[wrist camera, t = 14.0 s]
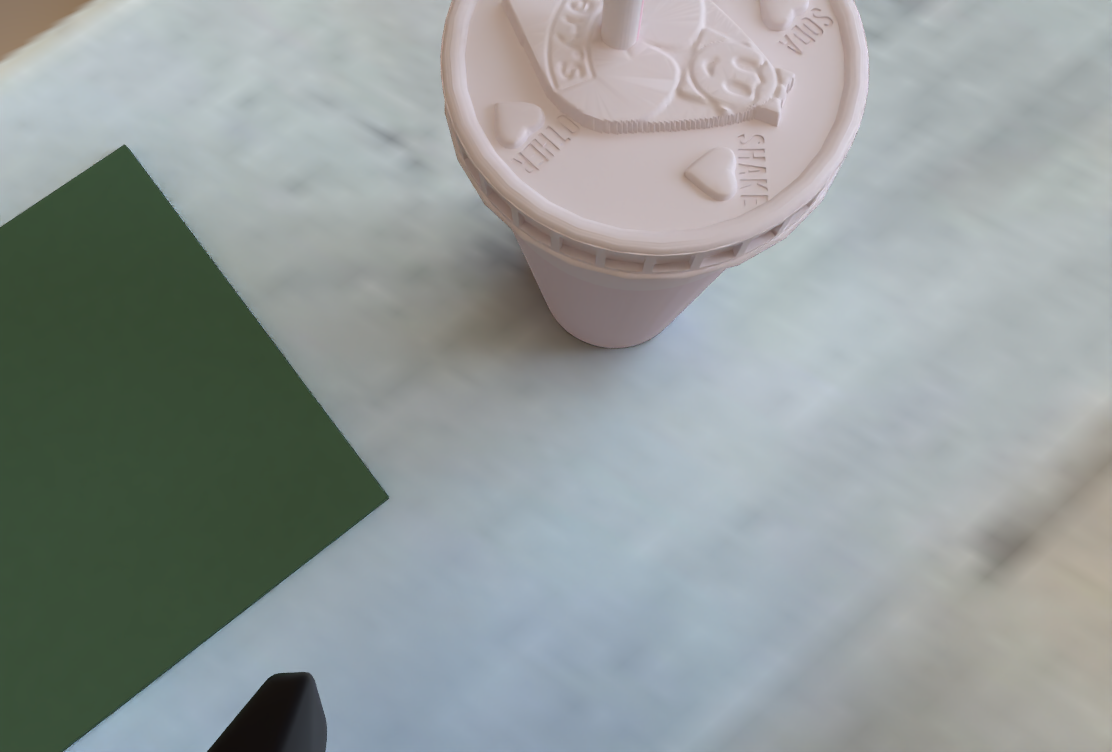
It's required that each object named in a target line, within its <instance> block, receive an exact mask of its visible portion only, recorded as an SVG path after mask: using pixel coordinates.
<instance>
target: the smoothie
mask: <svg viewBox="0 0 1112 752" xmlns="http://www.w3.org/2000/svg"><path fill="white" fill-rule="evenodd" d="M441 79H442V86H443V93H444V98H445V115H446V119H447V123H448V126H449V130H450V134H451V137H452V141H453V145H454V149H455V152H456V156H457V160H458V161H459V163H460V165H461V166H462V168H463V170H464V171H465V173H466V175H467V176H468V178H469V179H470V181H471V183H472V184H473V186H474V188H475V189H476V191H477V193H478V194H479V196H480V197H481V199H482V201H483V202H484V204H485V205H486V206H487V207H488V208H489V209H490V210H491V211H493V212H494V213H495V214H496V215H497V216H498V217H499V218H500V219H501V220H502V221H503V222H504V223H505V224H506V225H508V226H509V227H510V228H511V229H512V230H513V233H514V235H515V237H516V239H517V241H518V243H519V245H520V248H521V250H522V252H523V254H524V256H525V258H526V260H527V263H528V265H529V267H530V269H531V271H532V273H533V275H534V277H535V280H536V282H537V284H538V286H539V288H540V290H541V292H542V295H543V297H544V299H545V301H546V303H547V305H548V307H549V309H550V311H551V313H552V315H553V316H554V318H555V319H556V320H557V322H558V323H559V324H560V325H561V326H562V327H563V328H564V329H565V330H566V331H568V332H569V333H570V334H571V335H573V336H574V337H576V338H578V339H580V340H581V341H584V342H586V343H589V344H592V345H595V346H599V347H605V348H625V347H630V346H634V345H638V344H641V343H643V342H645V341H648V340H650V339H651V338H653V337H655V336H656V335H657V334H659V333H660V332H661V331H663V330H664V329H665V328H666V327H667V326H668V325H669V324H670V323H671V322H672V321H673V320H674V319H675V318H676V317H677V316H678V315H679V314H680V313H681V312H682V311H683V310H684V309H685V308H686V307H687V306H688V305H689V304H690V303H691V302H692V301H693V300H694V299H696V298H697V297H698V296H699V295H700V294H701V293H702V292H703V291H704V290H705V289H706V288H707V287H708V286H709V285H710V284H711V283H712V282H713V281H714V280H715V279H716V278H717V277H718V276H719V275H720V274H721V273H722V272H723V271H724V270H725V269H726V268H730V267H734V266H738V265H740V264H741V263H743V262H745V261H747V260H748V259H750V258H752V257H754V256H755V255H757V254H759V253H761V252H763V251H764V250H766V249H768V248H770V247H771V246H773V245H775V244H777V243H778V242H780V241H782V240H784V239H785V238H786V237H787V236H788V235H789V234H790V233H791V232H792V231H793V230H794V229H795V228H796V227H797V226H798V225H799V224H800V223H801V222H802V221H803V220H804V219H805V218H806V217H807V216H808V215H809V214H810V213H811V212H812V211H813V210H814V209H815V208H816V207H817V206H818V205H819V204H820V203H821V202H822V201H823V199H824V197H825V195H826V193H827V192H828V190H829V188H830V186H831V184H832V182H833V180H834V179H835V177H836V175H837V173H838V171H839V169H840V167H841V166H842V164H843V162H844V160H845V158H846V156H847V153H848V151H849V149H850V148H851V146H852V144H853V141H854V139H855V137H856V134H857V132H858V130H859V127H860V124H861V120H862V117H863V114H864V110H865V105H866V100H867V94H868V85H869V54H868V47H867V41H866V35H865V31H864V27H863V24H862V20H861V17H860V14H859V11H858V9H857V6H856V4H855V1H854V0H452V2H451V5H450V8H449V11H448V14H447V17H446V21H445V26H444V31H443V36H442V45H441Z"/></svg>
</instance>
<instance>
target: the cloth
mask: <svg viewBox="0 0 1112 752" xmlns="http://www.w3.org/2000/svg"><path fill="white" fill-rule="evenodd" d="M387 499H389V497H388V495H387V494H386V493H385V491H384V490H383V489H382V487H381V486H380V485H379V483H378V482H377V481H376V479H375V478H374V477H373V475H372V474H371V473H370V471H369V470H368V469H367V467H366V466H365V465H364V463H363V462H362V461H361V459H360V458H359V456H358V455H357V454H356V452H355V451H354V450H353V448H352V447H351V446H350V444H349V443H348V442H347V440H346V439H345V438H344V436H343V435H342V434H341V432H340V431H339V430H338V428H337V427H336V426H335V424H334V423H333V422H332V420H331V419H330V418H329V416H328V415H327V414H326V412H325V411H324V410H323V408H322V407H321V406H320V404H319V403H318V402H317V400H316V399H315V398H314V396H313V395H312V393H311V392H310V391H309V389H308V388H307V387H306V385H305V384H304V383H303V381H302V380H301V379H300V377H299V376H298V375H297V373H296V372H295V371H294V369H293V368H292V367H291V365H290V364H289V363H288V361H287V360H286V359H285V357H284V356H283V355H282V353H281V352H280V351H279V349H278V348H277V347H276V345H275V344H274V343H273V341H272V340H271V339H270V337H269V336H268V335H267V333H266V332H265V330H264V329H263V328H262V326H261V325H260V324H259V322H258V321H257V320H256V318H255V317H254V316H253V314H252V313H251V312H250V310H249V309H248V308H247V306H246V305H245V304H244V302H243V301H242V300H241V298H240V297H239V296H238V294H237V293H236V292H235V290H234V289H233V288H232V286H231V285H230V284H229V282H228V281H227V280H226V278H225V277H224V276H223V274H222V273H221V272H220V270H219V269H218V268H217V266H216V265H215V263H214V262H213V261H212V259H211V258H210V257H209V255H208V254H207V253H206V251H205V250H204V249H203V247H202V246H201V245H200V243H199V242H198V241H197V239H196V238H195V237H194V235H193V234H192V233H191V231H190V230H189V229H188V227H187V226H186V225H185V223H184V222H183V221H182V219H181V218H180V217H179V215H178V214H177V213H176V211H175V210H174V209H173V207H172V206H171V205H170V203H169V202H168V200H167V199H166V198H165V196H164V195H163V194H162V192H161V191H160V190H159V188H158V187H157V186H156V184H155V183H154V182H153V180H152V179H151V178H150V176H149V175H148V174H147V172H146V171H145V170H144V168H143V167H142V166H141V164H140V163H139V162H138V160H137V159H136V158H135V156H134V155H133V154H132V152H131V151H130V150H129V148H128V147H127V146H126V145H123V146H121V147H120V148H119V149H117V150H116V151H114V152H113V153H111V154H110V155H108V156H107V157H105V158H104V159H102V160H101V161H99V162H98V163H96V164H95V165H93V166H92V167H90V168H89V169H87V170H86V171H84V172H83V173H81V174H80V175H78V176H77V177H75V178H74V179H72V180H71V181H69V182H68V183H66V184H65V185H63V186H62V187H60V188H59V189H57V190H56V191H54V192H53V193H51V194H50V195H48V196H47V197H45V198H44V199H42V200H41V201H39V202H38V203H36V204H35V205H33V206H32V207H30V208H29V209H27V210H26V211H24V212H23V213H21V214H20V215H18V216H17V217H15V218H14V219H12V220H11V221H9V222H8V223H6V224H5V225H3V226H2V227H0V752H63V751H64V750H65V749H67V748H68V747H69V746H71V745H72V744H73V743H74V742H76V741H77V740H78V739H80V738H81V737H82V736H83V735H85V734H86V733H87V732H89V731H90V730H91V729H92V728H94V727H95V726H96V725H98V724H99V723H100V722H101V721H103V720H104V719H105V718H107V717H108V716H109V715H110V714H112V713H113V712H114V711H116V710H117V709H118V708H119V707H121V706H122V705H123V704H125V703H126V702H127V701H128V700H130V699H131V698H132V697H134V696H135V695H136V694H138V693H139V692H140V691H141V690H143V689H144V688H145V687H147V686H148V685H149V684H150V683H152V682H153V681H154V680H156V679H157V678H158V677H159V676H161V675H162V674H163V673H165V672H166V671H167V670H168V669H170V668H171V667H172V666H174V665H175V664H176V663H177V662H179V661H180V660H181V659H183V658H184V657H185V656H186V655H188V654H189V653H190V652H192V651H193V650H194V649H195V648H197V647H198V646H199V645H201V644H202V643H203V642H205V641H206V640H207V639H208V638H210V637H211V636H212V635H214V634H215V633H216V632H217V631H219V630H220V629H221V628H223V627H224V626H225V625H226V624H228V623H229V622H230V621H232V620H233V619H234V618H235V617H237V616H238V615H239V614H241V613H242V612H243V611H244V610H246V609H247V608H248V607H250V606H251V605H252V604H253V603H255V602H256V601H257V600H259V599H260V598H261V597H263V596H264V595H265V594H266V593H268V592H269V591H270V590H272V589H273V588H274V587H275V586H277V585H278V584H279V583H281V582H282V581H283V580H284V579H286V578H287V577H288V576H290V575H291V574H292V573H293V572H295V571H296V570H297V569H299V568H300V567H301V566H302V565H304V564H305V563H306V562H308V561H309V560H310V559H311V558H313V557H314V556H315V555H317V554H318V553H319V552H320V551H322V550H323V549H324V548H326V547H327V546H328V545H330V544H331V543H332V542H333V541H335V540H336V539H337V538H339V537H340V536H341V535H342V534H344V533H345V532H346V531H348V530H349V529H350V528H351V527H353V526H354V525H355V524H357V523H358V522H359V521H360V520H362V519H363V518H364V517H366V516H367V515H368V514H369V513H371V512H372V511H373V510H375V509H376V508H377V507H378V506H380V505H381V504H382V503H384V502H385V501H386V500H387Z"/></svg>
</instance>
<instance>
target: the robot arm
mask: <svg viewBox="0 0 1112 752" xmlns="http://www.w3.org/2000/svg"><path fill="white" fill-rule="evenodd" d="M326 742H327V724H326V718H325V715H324V711H323V708H322V704H321V701H320V697H319V694H318V690H317V687H316V683H315V680H314V678H313V676H312V675H311V674H310V673H307V672H295V673H278V674H274V675H273V676H271V677H270V678H268V679H267V680H266V681H265V683H264V684H263V685H262V686H261V687H260V689H259V690H258V691H257V692H256V693H255V695H254V696H253V697H252V698H251V699H250V701H249V702H248V703H247V704H246V705H245V707H244V708H243V709H242V710H241V711H240V713H239V714H238V715H237V716H236V717H235V719H234V720H233V721H232V722H231V723H230V725H229V726H228V727H227V728H226V729H225V731H224V732H223V733H222V734H221V736H220V737H219V738H218V739H217V740H216V742H215V743H214V744H213V745H212V746H211V748H210V749H209V750H208V751H207V752H325V751H326Z"/></svg>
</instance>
